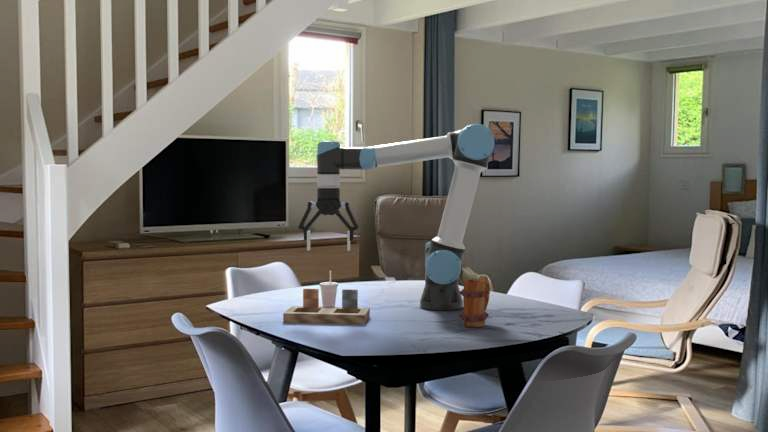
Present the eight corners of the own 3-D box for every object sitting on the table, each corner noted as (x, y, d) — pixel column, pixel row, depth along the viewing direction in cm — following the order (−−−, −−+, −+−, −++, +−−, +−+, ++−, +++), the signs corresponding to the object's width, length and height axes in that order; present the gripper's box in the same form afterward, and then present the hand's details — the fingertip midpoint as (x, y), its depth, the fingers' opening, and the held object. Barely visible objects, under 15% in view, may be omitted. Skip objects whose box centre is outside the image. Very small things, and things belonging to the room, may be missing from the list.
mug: (479, 330, 241) (479, 281, 240) (454, 327, 245) (455, 279, 244) (498, 322, 253) (499, 275, 253) (475, 319, 258) (475, 273, 257)
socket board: (369, 316, 262) (369, 289, 261) (364, 324, 249) (364, 296, 248) (292, 314, 264) (292, 288, 264) (283, 322, 252) (283, 294, 251)
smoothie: (335, 313, 267) (335, 272, 267) (317, 312, 269) (317, 271, 268) (340, 310, 274) (340, 269, 273) (322, 309, 275) (322, 269, 274)
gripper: (366, 187, 269) (366, 249, 271) (293, 186, 271) (294, 248, 272) (364, 187, 262) (364, 251, 263) (289, 187, 263) (290, 251, 265)
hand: (328, 250), depth 268 cm, fingers open, 13 cm apart
